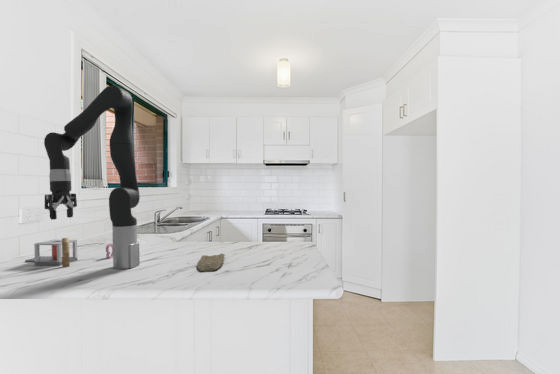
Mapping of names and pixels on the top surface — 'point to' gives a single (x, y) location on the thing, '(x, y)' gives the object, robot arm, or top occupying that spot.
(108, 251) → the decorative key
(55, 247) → the plunger
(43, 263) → the grey open cage
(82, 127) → the robot arm
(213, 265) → the stone tool
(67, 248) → the oak dowel
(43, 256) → the pad
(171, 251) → the top surface
